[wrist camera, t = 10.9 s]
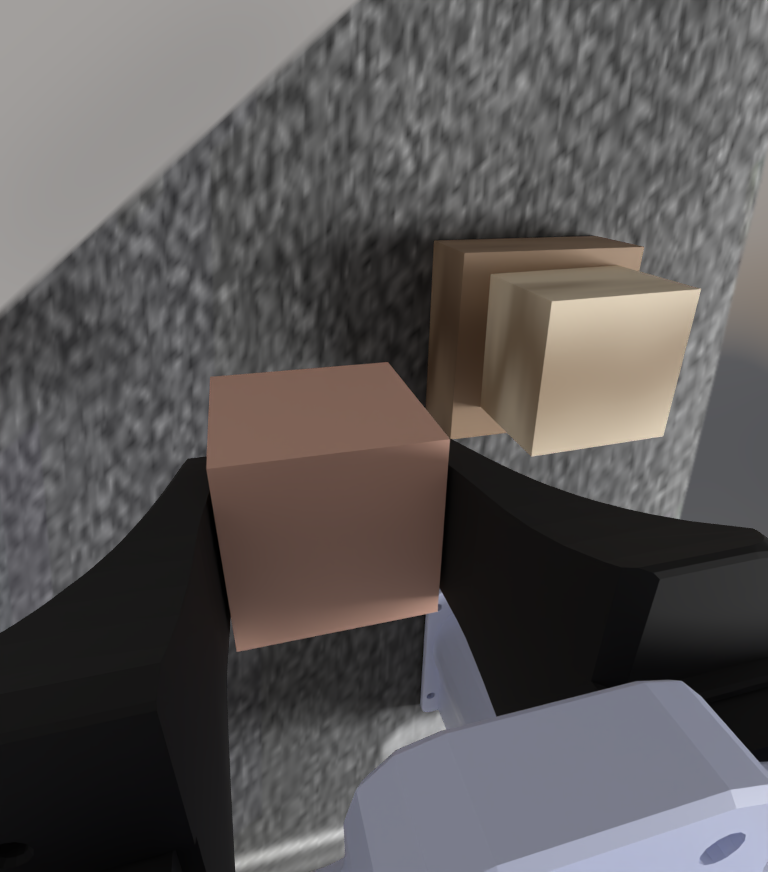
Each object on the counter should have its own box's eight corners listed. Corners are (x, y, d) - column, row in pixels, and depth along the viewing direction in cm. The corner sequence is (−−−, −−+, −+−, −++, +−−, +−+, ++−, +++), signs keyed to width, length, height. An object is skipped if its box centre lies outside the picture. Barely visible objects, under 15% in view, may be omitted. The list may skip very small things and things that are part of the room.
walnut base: (567, 393, 25) (606, 420, 23) (425, 408, 24) (450, 439, 21) (595, 235, 22) (644, 246, 20) (434, 240, 21) (464, 253, 18)
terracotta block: (386, 503, 15) (437, 611, 11) (232, 526, 14) (237, 651, 10) (387, 362, 13) (450, 438, 9) (210, 377, 12) (206, 469, 8)
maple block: (594, 392, 22) (663, 436, 19) (480, 406, 21) (531, 456, 18) (617, 265, 20) (701, 288, 16) (490, 273, 19) (552, 301, 15)
